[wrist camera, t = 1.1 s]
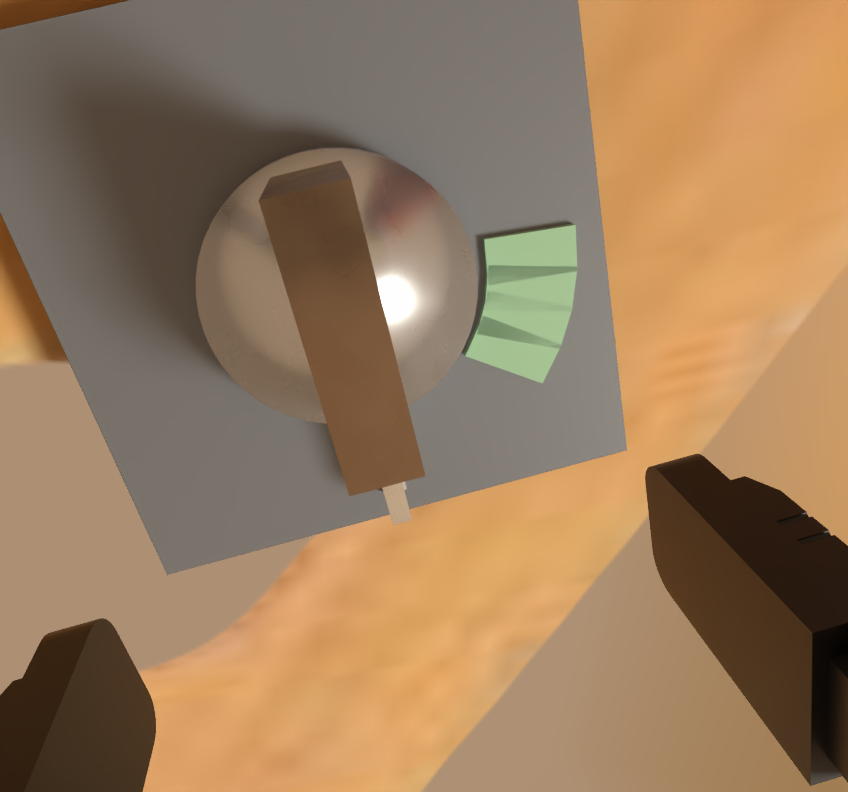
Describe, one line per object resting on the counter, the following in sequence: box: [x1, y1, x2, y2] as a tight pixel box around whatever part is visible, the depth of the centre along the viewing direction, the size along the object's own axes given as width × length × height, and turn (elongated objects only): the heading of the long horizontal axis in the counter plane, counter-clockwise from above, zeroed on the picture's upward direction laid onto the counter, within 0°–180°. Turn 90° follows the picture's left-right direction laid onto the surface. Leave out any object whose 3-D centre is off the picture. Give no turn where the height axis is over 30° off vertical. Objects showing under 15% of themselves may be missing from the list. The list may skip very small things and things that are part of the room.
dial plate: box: [0, 0, 627, 575], centre depth 27 cm, size 21×21×2 cm
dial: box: [196, 147, 478, 525], centre depth 24 cm, size 14×10×8 cm
